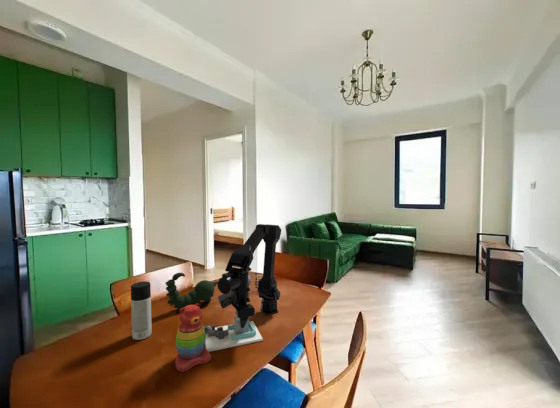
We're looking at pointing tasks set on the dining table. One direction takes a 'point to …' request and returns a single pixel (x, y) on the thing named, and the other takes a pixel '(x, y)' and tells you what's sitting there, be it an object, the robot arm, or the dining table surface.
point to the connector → (238, 326)
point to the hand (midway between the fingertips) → (241, 324)
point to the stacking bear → (191, 339)
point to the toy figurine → (200, 293)
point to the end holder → (243, 335)
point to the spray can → (141, 310)
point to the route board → (226, 337)
